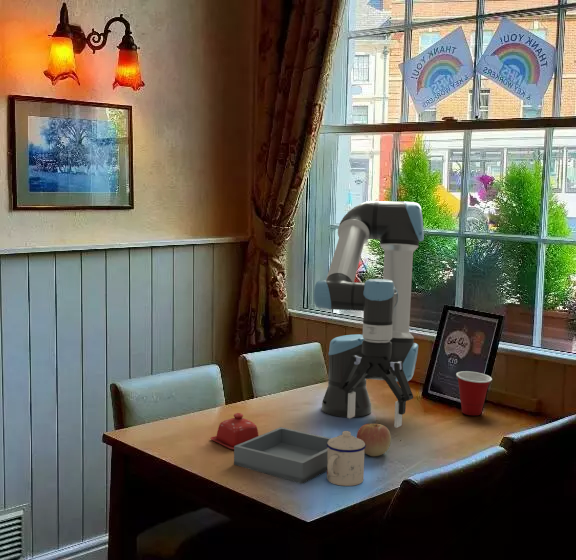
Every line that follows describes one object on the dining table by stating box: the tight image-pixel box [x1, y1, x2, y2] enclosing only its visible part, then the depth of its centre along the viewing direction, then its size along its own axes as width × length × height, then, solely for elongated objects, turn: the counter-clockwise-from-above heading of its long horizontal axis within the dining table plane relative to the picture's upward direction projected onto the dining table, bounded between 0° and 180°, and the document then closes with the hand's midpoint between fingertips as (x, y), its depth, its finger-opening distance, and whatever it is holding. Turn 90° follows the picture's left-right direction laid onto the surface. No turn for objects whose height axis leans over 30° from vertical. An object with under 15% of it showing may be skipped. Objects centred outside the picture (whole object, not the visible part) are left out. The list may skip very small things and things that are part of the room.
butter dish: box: [210, 412, 260, 451], centre depth 217 cm, size 12×12×8 cm
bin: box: [233, 426, 332, 485], centre depth 203 cm, size 20×20×5 cm
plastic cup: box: [455, 370, 493, 416], centre depth 251 cm, size 11×11×12 cm
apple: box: [356, 423, 392, 457], centre depth 211 cm, size 9×9×8 cm
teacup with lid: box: [326, 430, 366, 487], centre depth 190 cm, size 12×9×12 cm
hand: (374, 421), depth 210 cm, fingers open, 13 cm apart
